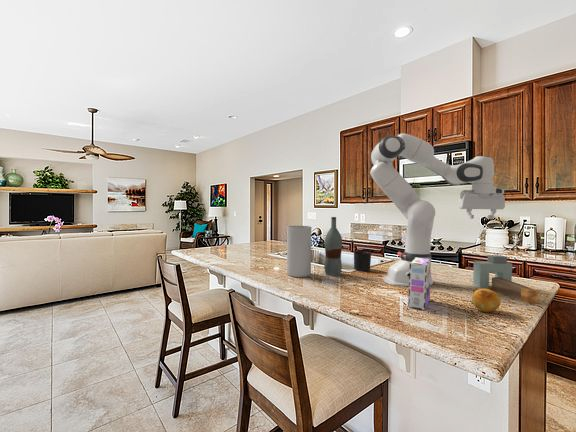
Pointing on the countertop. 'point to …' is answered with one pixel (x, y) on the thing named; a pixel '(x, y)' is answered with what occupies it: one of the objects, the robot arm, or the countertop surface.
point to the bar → (515, 290)
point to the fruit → (486, 300)
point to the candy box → (419, 283)
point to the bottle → (333, 250)
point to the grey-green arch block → (491, 270)
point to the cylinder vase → (299, 251)
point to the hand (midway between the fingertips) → (480, 218)
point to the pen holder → (362, 260)
